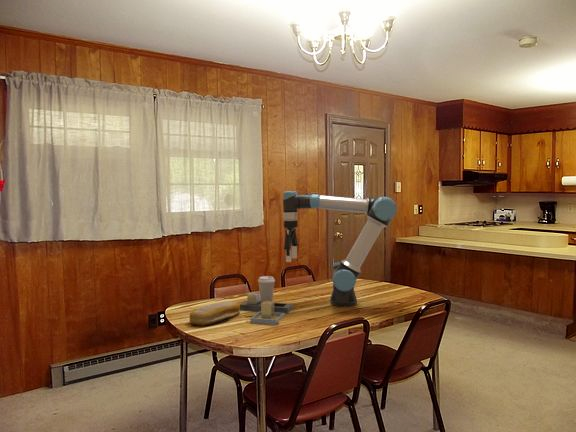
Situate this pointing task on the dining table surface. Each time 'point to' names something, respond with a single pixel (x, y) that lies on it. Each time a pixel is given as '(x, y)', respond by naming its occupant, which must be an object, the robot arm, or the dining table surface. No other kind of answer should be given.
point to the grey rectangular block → (253, 298)
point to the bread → (214, 313)
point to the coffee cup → (266, 288)
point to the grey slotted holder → (277, 307)
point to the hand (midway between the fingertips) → (291, 260)
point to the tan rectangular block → (267, 310)
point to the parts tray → (266, 321)
